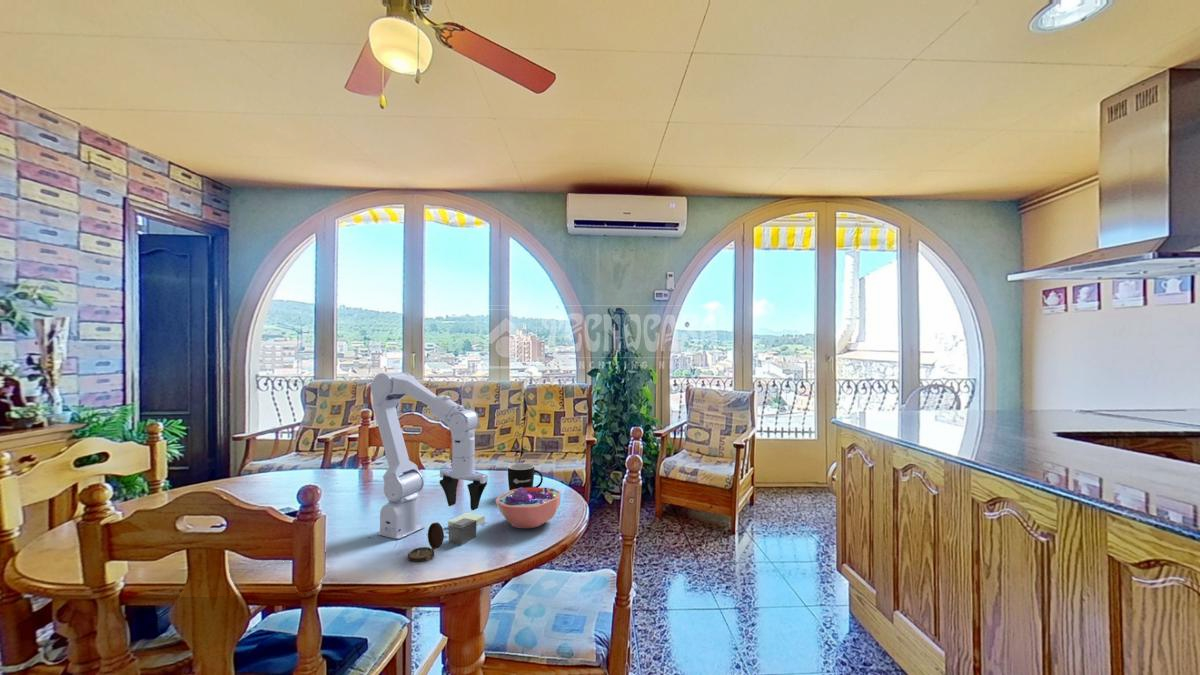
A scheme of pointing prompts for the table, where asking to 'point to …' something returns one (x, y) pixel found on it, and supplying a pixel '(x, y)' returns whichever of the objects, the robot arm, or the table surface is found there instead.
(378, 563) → the table surface
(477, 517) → the stand
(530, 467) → the mug
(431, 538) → the compass
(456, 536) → the block
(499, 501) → the cell model
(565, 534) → the table surface
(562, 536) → the table surface
